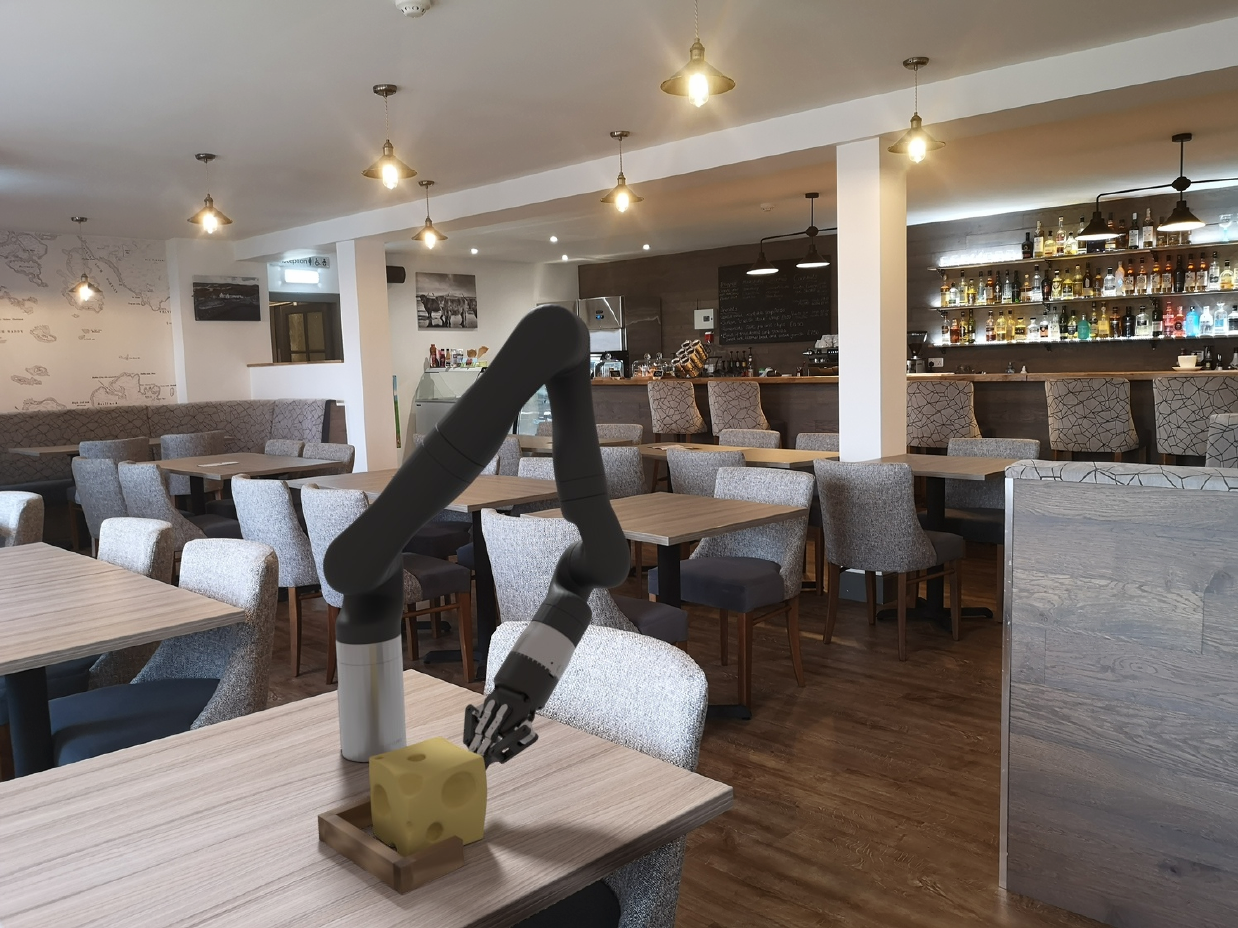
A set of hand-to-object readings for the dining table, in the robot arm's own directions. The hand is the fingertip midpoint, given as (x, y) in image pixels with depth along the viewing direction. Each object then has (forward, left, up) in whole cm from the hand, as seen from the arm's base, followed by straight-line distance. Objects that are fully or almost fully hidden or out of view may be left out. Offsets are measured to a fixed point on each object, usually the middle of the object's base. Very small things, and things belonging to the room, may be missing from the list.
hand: (463, 786), depth 114 cm
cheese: (0, -5, -4) cm, 7 cm away
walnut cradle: (0, -11, -4) cm, 12 cm away
